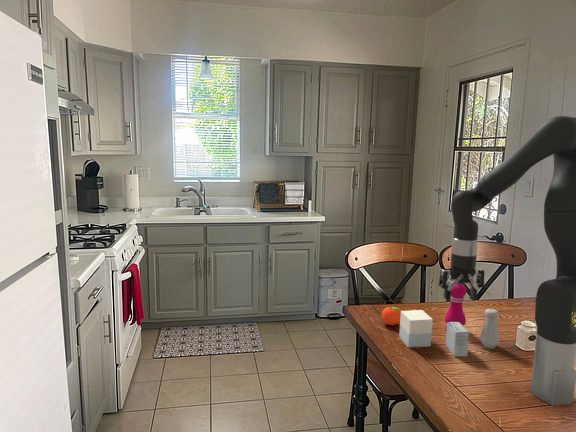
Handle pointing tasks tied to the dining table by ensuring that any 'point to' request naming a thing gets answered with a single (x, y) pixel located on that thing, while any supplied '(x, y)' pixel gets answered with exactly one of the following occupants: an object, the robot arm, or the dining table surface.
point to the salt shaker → (490, 329)
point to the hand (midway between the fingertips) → (460, 299)
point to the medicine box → (457, 339)
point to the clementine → (391, 315)
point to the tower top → (416, 322)
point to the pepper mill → (456, 305)
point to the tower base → (415, 338)
